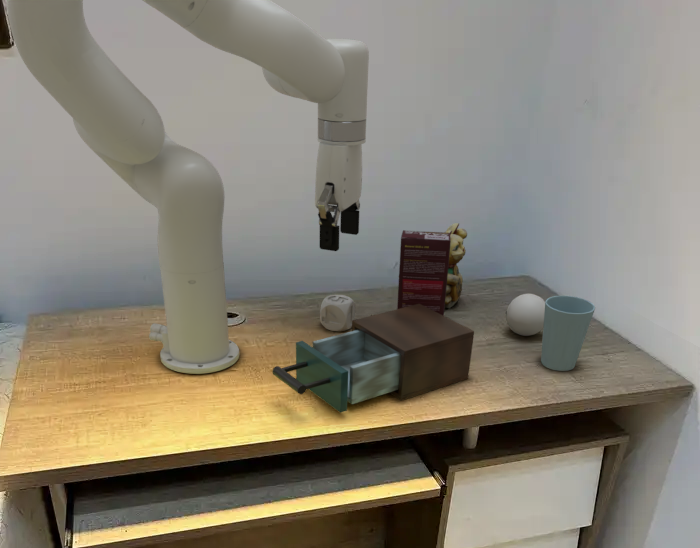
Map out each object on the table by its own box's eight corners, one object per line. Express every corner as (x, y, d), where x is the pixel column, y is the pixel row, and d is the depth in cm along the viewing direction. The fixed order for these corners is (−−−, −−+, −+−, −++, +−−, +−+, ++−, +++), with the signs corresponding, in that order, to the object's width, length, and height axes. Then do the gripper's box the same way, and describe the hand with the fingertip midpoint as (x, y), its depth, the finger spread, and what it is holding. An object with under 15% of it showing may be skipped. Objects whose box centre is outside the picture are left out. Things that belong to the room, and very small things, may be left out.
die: (345, 333, 130) (346, 306, 127) (319, 328, 131) (319, 302, 128) (355, 323, 133) (356, 296, 131) (329, 318, 135) (330, 292, 132)
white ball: (553, 339, 130) (561, 299, 126) (518, 345, 128) (525, 305, 123) (520, 318, 138) (527, 280, 134) (487, 323, 135) (492, 285, 131)
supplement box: (442, 317, 137) (451, 231, 128) (442, 328, 133) (452, 240, 124) (396, 314, 137) (402, 229, 128) (394, 325, 133) (400, 237, 124)
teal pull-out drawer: (307, 423, 102) (307, 383, 98) (264, 389, 110) (263, 350, 106) (408, 390, 111) (411, 352, 107) (362, 361, 118) (363, 324, 115)
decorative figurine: (453, 313, 138) (462, 233, 130) (411, 306, 141) (417, 227, 132) (465, 296, 146) (474, 220, 138) (425, 290, 148) (432, 214, 140)
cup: (590, 364, 122) (604, 304, 116) (566, 379, 117) (579, 317, 112) (551, 350, 126) (562, 291, 121) (525, 363, 122) (536, 303, 116)
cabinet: (401, 400, 110) (404, 351, 105) (350, 367, 118) (351, 320, 114) (468, 378, 116) (474, 331, 112) (415, 348, 125) (419, 303, 121)
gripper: (338, 120, 122) (336, 225, 131) (297, 138, 108) (298, 253, 118) (381, 124, 120) (376, 230, 129) (345, 143, 106) (342, 259, 116)
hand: (339, 241), depth 124 cm, fingers open, 9 cm apart
